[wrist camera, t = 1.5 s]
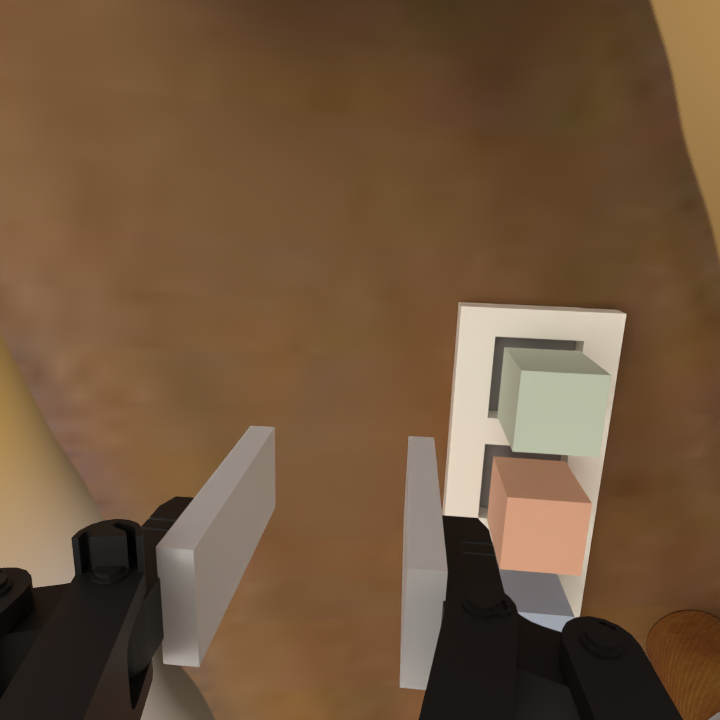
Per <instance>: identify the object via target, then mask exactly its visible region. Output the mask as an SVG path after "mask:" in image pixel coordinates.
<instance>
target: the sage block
mask: <svg viewBox="0 0 720 720" xmlns="http://www.w3.org/2000/svg"><path fill="white" fill-rule="evenodd" d="M611 376H612V375H610V374H609V373H608V372H607V371H605V370H604V369H603V368H601V367H600V366H599V365H597V364H596V363H595V362H594V361H592V360H591V359H590V358H588V357H587V356H586V355H585V354H583V353H582V352H581V351H569V350H550V349H530V348H511V347H504V355H503V365H502V375H501V385H500V395H499V405H498V415H497V417H498V420H499V422H500V424H501V426H502V429H503V431H504V433H505V436H506V438H507V440H508V442H509V445H510V447H511V449H512V452H527V453H543V454H558V455H573V456H588V457H599V455H600V448H601V441H602V435H603V428H604V422H605V415H606V409H607V402H608V395H609V389H610V382H611Z"/></svg>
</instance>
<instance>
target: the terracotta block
mask: <svg viewBox="0 0 720 720" xmlns="http://www.w3.org/2000/svg"><path fill="white" fill-rule="evenodd" d="M591 507H592V503H591V501H590V499H589V498H588V496H587V495H586V493H585V492H584V490H583V488H582V487H581V485H580V484H579V482H578V481H577V479H576V477H575V476H574V474H573V473H572V471H571V470H570V468H569V466H568V465H567V463H566V462H565V461H554V460H539V459H524V458H509V457H494V456H493V464H492V474H491V484H490V494H489V504H488V514H487V521H488V525H489V529H490V533H491V537H492V541H493V545H494V549H495V553H496V557H497V561H498V565H499V569H504V570H516V571H528V572H541V573H553V574H565V575H577V576H581V573H582V566H583V560H584V553H585V546H586V540H587V533H588V527H589V520H590V514H591Z"/></svg>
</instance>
